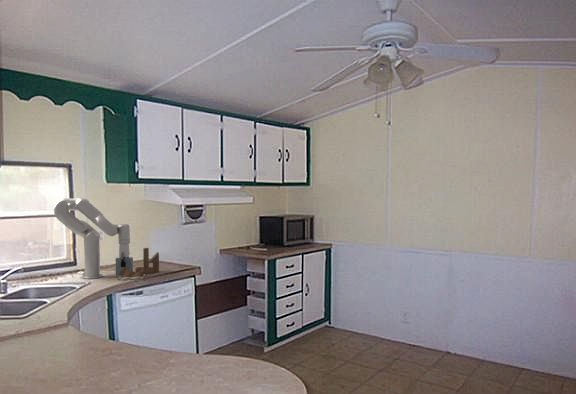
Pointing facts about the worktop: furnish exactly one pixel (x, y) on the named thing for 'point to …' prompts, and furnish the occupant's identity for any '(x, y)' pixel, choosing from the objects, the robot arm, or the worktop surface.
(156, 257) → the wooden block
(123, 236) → the robot arm
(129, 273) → the slotted base
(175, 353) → the worktop surface
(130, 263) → the slotted plate
